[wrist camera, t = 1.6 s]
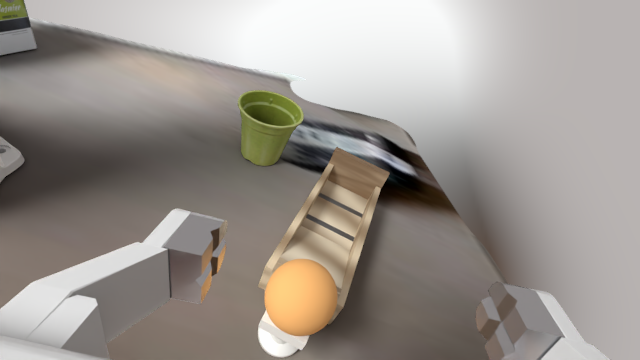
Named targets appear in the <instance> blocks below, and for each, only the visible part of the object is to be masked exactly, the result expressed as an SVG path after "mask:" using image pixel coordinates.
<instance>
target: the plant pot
mask: <svg viewBox="0 0 640 360" xmlns="http://www.w3.org/2000/svg"><path fill="white" fill-rule="evenodd" d="M238 107H239V109H240V114H241V117H242V132H241V153H242V155H243V157H244V158H245V159H248V160H250V161H251V162H252V163H254V164H256V165H260V166H269V165H273V164H274V163H275V162H277V161H278V160H279V158H280V156H281V154H282V152H283V150H284V148H285V146H286V144H287V142H288V140H289V138H290V136H291V134H292V132H293V131H294V130H295V129H296V127H297V126H298V125H300V124H301V122H302V121H303V118H304V114H303V111H302V109H301V108H300V107H299V106H298V105H297V104H296V103H295V102H294V101H292V100H291V99H289V98H287V97H285V96H283V95H280V94H277V93H274V92H270V91H262V90H255V91H248V92H246V93H243V94H242V95H241V96H240V97H239V99H238Z"/></svg>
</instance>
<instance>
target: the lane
mask: <svg viewBox="0 0 640 360" xmlns="http://www.w3.org/2000/svg"><path fill="white" fill-rule="evenodd" d="M388 176H389V172H387V171H385V170H383V169H381V168H379V167H377V166H375V165H373V164H371V163H369V162H367V161H364V160H362V159H360V158H358V157H356V156H354V155H352V154H350V153H348V152H346V151H344V150H342V149H340V148H338V147H336V149H335V151H334V153H333V155H332V157H331V160H330V162H329V164H328V166H327V167H326V169H325V170H324V172H323V174H322V175H321V177H320V179H319V180H318V182H317V183H316V185H315V187H314V188H313V190H312V192H311V193H310V195H309V196H308V198H307V200H306V201H305V203H304V204H303V206H302V208H301V209H300V211H299V213H298V214H297V216H296V217H295V219H294V221H293V222H292V224H291V226H290V227H289V229H288V230H287V232H286V234H285V235H284V237H283V239H282V240H281V242H280V243H279V245H278V247H277V248H276V250H275V251H274V253H273V255H272V256H271V258H270V260H269V261H268V263H267V264H266V266H265V269H264V272H263V274H262V277H261V280H260V282H259V285H258V287H260V288H262V289H263V290H264V291H265V290H266V286H267V283H268V281H269V279H270V277H271V275H272V274H273V273H274V272H275V270H276V269H277V268H279V267H280V266H281V265H283V264H284V263H286V262H288V261H291V260H294V259H309V260H313V261H315V262H318V263H319V264H321V265H322V266H324V267H325V268H326V269H327V270H328V271H329V273H330V274H331V276H332V277H333V279H334V281H335V284H336V288H337V306H336V309H335V312H334V314H333V316H332V318H331V320H330V321H329V322H328V324H329V325H330V324H331V323H332V322H333V320H334V319H335V318H336V316H337V315H338V314H339V312H340V311H341V310H342V309H343V307H344V304H345V301H346V298H347V295H348V292H349V288H350V285H351V282H352V279H353V276H354V273H355V269H356V266H357V263H358V260H359V257H360V254H361V250H362V247H363V244H364V241H365V238H366V235H367V231H368V228H369V225H370V222H371V219H372V216H373V212H374V209H375V206H376V203H377V200H378V197H379V193H380V190H381V188H382V186H383V185H384V183H385V181H386V180H387V178H388Z"/></svg>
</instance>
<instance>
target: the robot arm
mask: <svg viewBox="0 0 640 360" xmlns="http://www.w3.org/2000/svg"><path fill="white" fill-rule="evenodd" d="M23 163H24V158H23V156H22V154H21V152H20V151H19V150H17V149H16V148H15V147H13V146H12V145H11V144H10V143H8V142H7V141H6V140H4V139H3V138H2V137H0V183H1V181H2V180H3V179H4V178H5V176H7V175H9V174H10V173H12V172H13V171H14V170H16V169H17V168H19V167H20V166H21V165H22V164H23ZM226 232H227V221H226V220H223V219H219V218H215V217H211V216H207V215H203V214H199V213H195V212H190V211H186V210H182V209H178V208H176V209H174V210H172V211H171V212H170V213H169V214H168V215H167V216H166V217H165V219H164V220H163V221H162V222H161V223H160V224H159V225H158V226H157V227H156V228H155V230H154V231H153V232H152V233H151V234H150V235H149V236H148V237H147V238H146V239H145V240H144V242H143V243H139V242H136V243H133V244H130V245H128V246H125V247H123V248H120V249H117V250H115V251H112V252H110V253H107V254H105V255H102V256H99V257H97V258H94V259H92V260H89V261H86V262H84V263H81V264H79V265H76V266H73V267H71V268H68V269H66V270H63V271H60V272H58V273H55V274H53V275H50V276H47V277H45V278H42V279H40V280H37V281H34V282H32V283H31V284H29V285H28V286H27V287H26V288H25V289H23V290H22V291H21V292H20V293H19V294H18V295H16V296H15V297H14V298H13V299H12V300H10V301H9V302H8V303H7V304H6V305H5V306H3V307H2V308H1V309H0V360H111V359H110V358H109V354H108V349H107V345H106V344H107V343H108V342H110V341H111V340H112V339H114V338H115V337H117V336H118V335H120V334H121V333H123V332H124V331H126V330H127V329H129V328H130V327H131V326H133V325H134V324H136V323H137V322H139V321H140V320H142V319H143V318H145V317H146V316H148V315H149V314H150V313H152V312H153V311H155V310H156V309H158V308H159V307H161V306H162V305H164V304H165V303H167V302H168V301H169V300H170V298H172V299H177V300H182V301H188V302H193V303H198V304H201V303H202V301H203V299H204V297H205V295H206V294H207V292H208V290H209V288H210V286H211V277H212V276H213V275H215V274H217V273H218V271H219V269H220V267H221V264H222V261H223V258H224V254H225V249H226V242H225V240H224V239H223V237H224V236H225V234H226ZM488 291H489V295H490V296H489V297H487V298H485V299H483V300H481V302H480V303H479V305H478V307H477V309H476V316H475V318H476V325H477V328H478V331H479V333H480V334H481V335H482V336H483V337H484V338H485V339H486V340H487V342H486V344H485V349H486V352H487V354H488V357H489V360H610V359H609V358H608V357H607V356H606V355H604V354H603V353H602V352H600V351H599V350H598V349H597V348H596V347H594V346H593V345H592V344H588V343H586V342H585V341H584V340H583V338H582V336H581V335H580V334H579V332H578V331H577V329H576V328H575V326H574V325H573V324H572V322H571V320H570V319H569V318H568V316H567V315H566V313H565V312H564V310H563V309H562V307H561V306H560V305H559V303H558V302H557V300H556V299H555V297H554V296H552V295H551V294H550V293H548V292H545V291H540V290H535V289H528V288H524V287H519V286H514V285H510V284H506V283H501V282H496V283H494V284H492V286H491V287H490V288H489V290H488Z"/></svg>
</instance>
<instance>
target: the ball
mask: <svg viewBox="0 0 640 360" xmlns="http://www.w3.org/2000/svg"><path fill="white" fill-rule="evenodd" d="M336 306H337V288H336V284H335V281H334V279H333V277H332V276H331V274H330V273H329V271H328V270H327V269H326V268H325V267H324V266H322V265H321V264H319V263H318V262H315V261H313V260H309V259H294V260H291V261H288V262H286V263H284V264H283V265H281V266H280V267H279V268H277V269H276V270H275V272H274V273H273V274H272V275H271V277H270V279H269V281H268V283H267V286H266V290H265V307H266V310H267V313H268V315H269V318H270V319H271V321H272V322H273V323H274V325H275V326H276V327H277V328H279V329H280V330H281V331H283V332H285V333H287V334H290V335H293V336H307V335H311V334H314V333H316V332H318V331H319V330H321V329H322V328H324V327H325V326H326V325H327V324H328V322H329V321H330V320H331V318H332V316H333V314H334V312H335V309H336Z"/></svg>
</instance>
